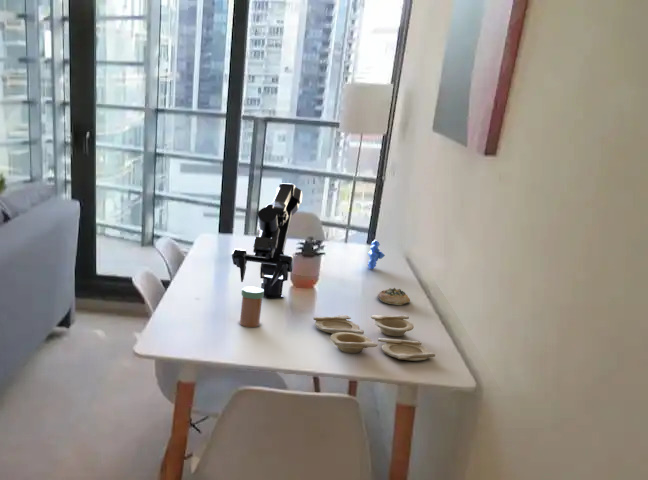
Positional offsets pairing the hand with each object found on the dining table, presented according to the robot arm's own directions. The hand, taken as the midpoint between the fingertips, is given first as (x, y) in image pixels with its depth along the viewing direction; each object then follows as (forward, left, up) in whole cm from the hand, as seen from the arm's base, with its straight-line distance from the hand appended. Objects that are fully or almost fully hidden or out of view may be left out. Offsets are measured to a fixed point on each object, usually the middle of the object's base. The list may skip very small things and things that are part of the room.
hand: (256, 283), depth 220 cm
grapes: (-77, -53, -12) cm, 94 cm away
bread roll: (-59, -12, -12) cm, 61 cm away
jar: (+2, +3, -12) cm, 13 cm away
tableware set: (-28, +23, -12) cm, 38 cm away
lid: (+2, +3, -1) cm, 4 cm away
